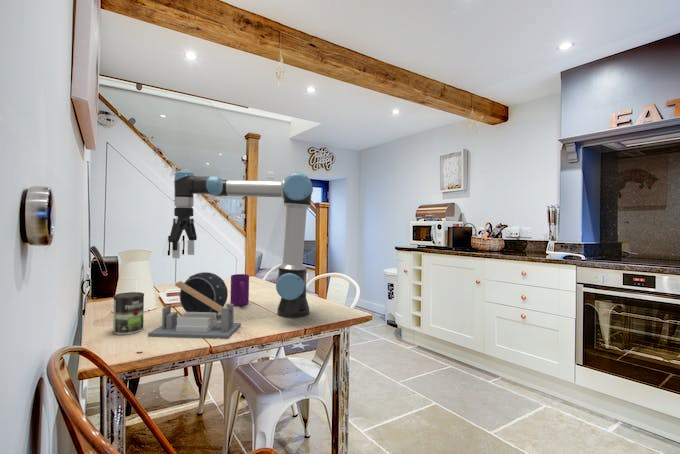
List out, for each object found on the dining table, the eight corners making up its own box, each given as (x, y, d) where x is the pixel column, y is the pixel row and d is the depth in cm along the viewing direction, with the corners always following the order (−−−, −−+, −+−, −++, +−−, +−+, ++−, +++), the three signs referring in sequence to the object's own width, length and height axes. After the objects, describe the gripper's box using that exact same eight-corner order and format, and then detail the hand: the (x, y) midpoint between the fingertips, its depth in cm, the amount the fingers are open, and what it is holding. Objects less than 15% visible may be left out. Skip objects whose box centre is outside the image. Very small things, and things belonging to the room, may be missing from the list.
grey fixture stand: (240, 325, 146) (241, 301, 146) (228, 338, 130) (228, 311, 130) (169, 323, 147) (169, 299, 147) (147, 336, 131) (148, 309, 131)
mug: (247, 301, 188) (247, 273, 188) (252, 308, 174) (252, 278, 174) (229, 302, 185) (229, 274, 184) (233, 310, 170) (233, 279, 170)
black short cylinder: (217, 322, 150) (218, 275, 150) (176, 318, 154) (176, 273, 154) (230, 315, 161) (230, 272, 160) (191, 312, 165) (191, 269, 164)
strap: (230, 315, 140) (232, 311, 140) (226, 318, 136) (229, 314, 136) (178, 284, 140) (181, 280, 140) (174, 286, 136) (176, 281, 136)
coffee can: (149, 329, 139) (149, 294, 138) (121, 336, 130) (121, 298, 129) (135, 324, 144) (135, 290, 144) (107, 331, 135) (108, 295, 135)
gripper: (188, 208, 164) (188, 253, 164) (159, 206, 139) (159, 259, 139) (204, 208, 164) (204, 253, 164) (178, 206, 139) (178, 259, 139)
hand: (183, 256), depth 152 cm, fingers open, 13 cm apart
